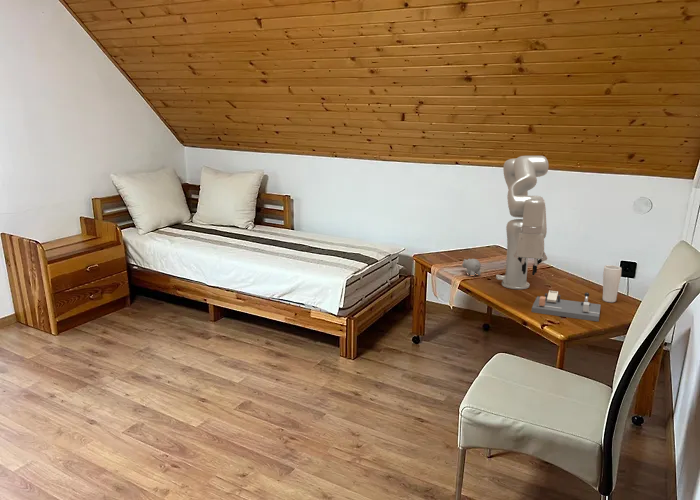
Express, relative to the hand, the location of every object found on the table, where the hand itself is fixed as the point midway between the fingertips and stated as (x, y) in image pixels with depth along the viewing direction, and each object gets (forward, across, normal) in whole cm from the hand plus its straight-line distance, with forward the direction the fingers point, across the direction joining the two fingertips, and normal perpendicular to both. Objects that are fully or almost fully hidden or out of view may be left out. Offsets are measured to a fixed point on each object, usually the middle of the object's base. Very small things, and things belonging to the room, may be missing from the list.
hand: (529, 273), depth 220 cm
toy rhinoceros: (+16, -34, +39) cm, 54 cm away
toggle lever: (+13, +22, +8) cm, 27 cm away
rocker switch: (+11, +9, +8) cm, 16 cm away
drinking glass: (+15, +30, +24) cm, 42 cm away
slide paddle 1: (+13, +6, 0) cm, 14 cm away
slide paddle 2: (+13, +23, 0) cm, 26 cm away
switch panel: (+15, +15, +4) cm, 22 cm away
